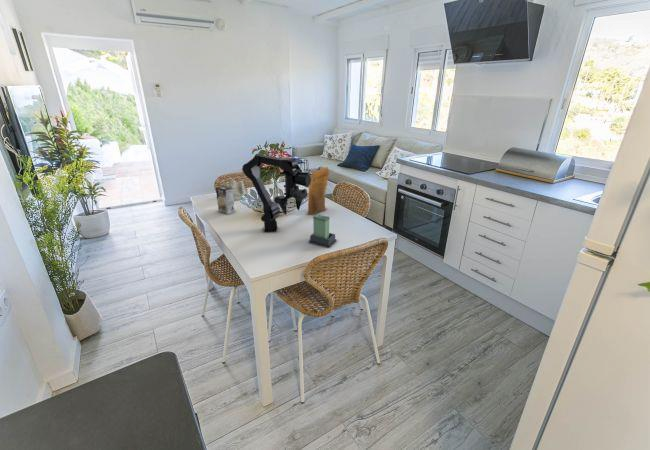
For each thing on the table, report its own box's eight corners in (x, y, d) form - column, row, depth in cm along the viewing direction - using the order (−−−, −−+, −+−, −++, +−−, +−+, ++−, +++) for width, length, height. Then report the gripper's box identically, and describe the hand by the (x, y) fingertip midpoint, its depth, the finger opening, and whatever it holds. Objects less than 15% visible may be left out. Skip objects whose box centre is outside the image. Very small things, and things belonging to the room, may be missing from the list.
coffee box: (218, 211, 201) (214, 187, 195) (225, 208, 206) (223, 185, 200) (228, 214, 197) (225, 189, 190) (235, 211, 202) (233, 187, 195)
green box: (313, 240, 162) (313, 216, 157) (317, 237, 166) (317, 214, 160) (325, 243, 159) (325, 219, 154) (329, 240, 162) (329, 216, 157)
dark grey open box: (309, 242, 162) (308, 235, 160) (316, 236, 168) (316, 229, 167) (329, 247, 157) (329, 240, 155) (336, 241, 164) (336, 234, 162)
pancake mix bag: (331, 209, 208) (332, 167, 196) (311, 216, 194) (311, 172, 183) (323, 206, 212) (324, 165, 200) (303, 214, 198) (303, 170, 187)
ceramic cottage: (251, 197, 227) (248, 177, 221) (228, 202, 219) (224, 181, 214) (244, 193, 239) (241, 173, 234) (223, 197, 232) (219, 177, 226)
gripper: (287, 190, 148) (289, 221, 154) (315, 182, 161) (315, 211, 167) (272, 186, 155) (274, 215, 161) (299, 178, 168) (300, 206, 174)
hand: (291, 212), depth 165 cm, fingers open, 9 cm apart
